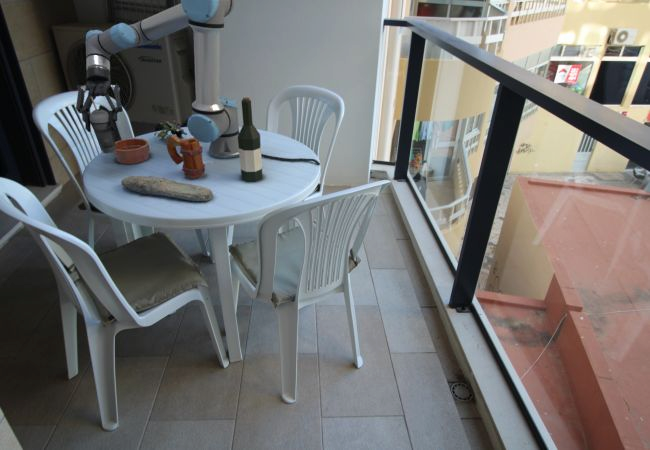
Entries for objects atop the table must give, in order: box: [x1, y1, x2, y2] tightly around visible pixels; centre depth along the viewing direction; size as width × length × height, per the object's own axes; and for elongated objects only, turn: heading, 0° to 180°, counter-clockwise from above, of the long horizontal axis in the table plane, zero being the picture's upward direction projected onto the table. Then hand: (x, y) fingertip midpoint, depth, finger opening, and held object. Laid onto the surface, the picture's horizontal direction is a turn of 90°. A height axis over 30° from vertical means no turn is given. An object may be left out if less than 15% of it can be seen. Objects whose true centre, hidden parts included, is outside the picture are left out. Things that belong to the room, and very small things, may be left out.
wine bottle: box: [238, 97, 263, 183], centre depth 143 cm, size 8×8×30 cm
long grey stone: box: [120, 175, 214, 202], centre depth 137 cm, size 35×5×10 cm
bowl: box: [112, 137, 151, 165], centre depth 162 cm, size 14×14×6 cm
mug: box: [166, 134, 206, 180], centre depth 147 cm, size 15×8×15 cm, turn 71°
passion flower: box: [153, 120, 188, 142], centre depth 179 cm, size 11×11×12 cm
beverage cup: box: [89, 97, 116, 154], centre depth 141 cm, size 7×7×20 cm
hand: (100, 129), depth 139 cm, fingers closed on beverage cup, 7 cm apart
